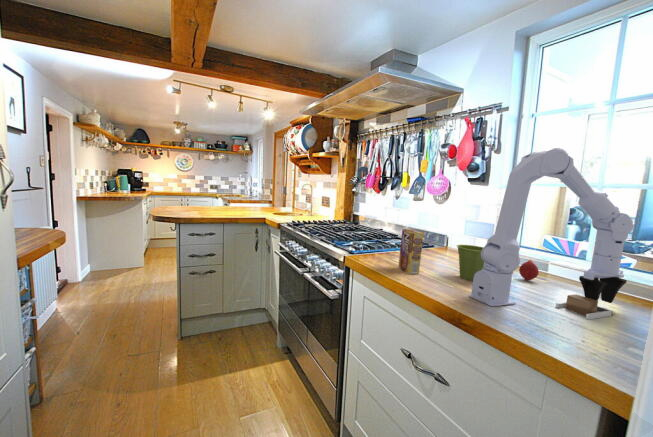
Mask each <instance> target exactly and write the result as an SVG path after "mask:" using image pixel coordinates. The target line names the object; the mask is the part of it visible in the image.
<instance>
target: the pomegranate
mask: <svg viewBox="0 0 653 437" xmlns="http://www.w3.org/2000/svg"><path fill="white" fill-rule="evenodd" d="M518 269H519V274H520V276H521V277H522V279H524V280H525V281H526V282H529V281H532V280H534V279H535V278H537V277H538V275H539V268H538V266H537V264H535V263H534V262H533V260H532V259H531V258H529V259H528V260H527V261H526V262H524V263H522V264H521V265H519V268H518Z"/></svg>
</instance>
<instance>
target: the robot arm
mask: <svg viewBox="0 0 653 437" xmlns="http://www.w3.org/2000/svg"><path fill="white" fill-rule="evenodd" d="M543 177H550V178H553V179H559V180H560V181H561V182H562V183H563V184H564V185H565V187H567V188H568V189H569V190H570V191H572V192H573V193H574V194H575V195H576V196H577V198H578V203H577V204H578V205H579V206H580V207H581V209H582V210H583V211H584V212H585V213H586V214H587V215H588V216H589V217H590V219H591V225H592V228H594V229H595V230H596V234H595V241H594V246H593V253H592V257H591V258H592V260H591V264H590V267H589V269H587V270H583V271H584V272H583V275H579V277H578V279H579V282H580V284H581V285H582V290H583V293H584V294H583V295H584V297H587V298H590V299H593V300H596V301H598V302H599V298H600V299H601V301H603V302H606V303H609V304H612V303H613V301H614V300H615V298H616V296H617V294H618V292H619V291H620V289H621V288H622V287H623V286H624V285H626V284H627V279H625V274H624V270H621V269H620V268H621V267H620V266H621V264H622V263H621V262H622V261H621V260H622V257H623V252H624V245H625V241H626V240H627V239H628V237H629V234H631V233H632V231H634V228H635V226H636V225H635V224H634V221H633V219H632V217H630V215H628V214H627V213H625V212H623V213H622V212H621V211H620V208H619V207H618V206H616V205H615V204H614V203H613V202H612V201H611V200H610V199H609V198H608V197H609V195H608V194H607V193H606V192H602V191H601V190H594V189H593V188H592V187H591V186H590V184H589V183H588V182H587V180H586V179H585V178H584V176H583V175H582V173H581V172H580V171H579V170H578V168H577V167H575V162H574V159H573V157H571V156H570V155H569V153H568V152H567V151H566V150H564V149H563V148H560V147H555V148H551V149H547V150H542V151H534V152H530V153H528V154H526V155H523V156H522V157H521V160H520V162H518V164H516V166H515V167H514V168H513V169H512V170H511V171H510V173H509V176H508V180H507V184H506V188H505V192H504V195H503V198H502V204H501V207H500V211H499V215H498V220H497V224H496V226H495V231H494V234H493V235H492V236H490V237H489V238H488V239H487V240H486V243H485V245H484V248H483V249H482V251H481V258H482V260H483V261H484V266H483V269H482V270H481V271H478V272H476V273H475V275H474V278H473V281H472V286H471V293H469V294H468V297H470V298H472V299H475V300H477V301H480V302H481V303H483V304H486V305H488V306H490V307H499V306H507V305H515V304H517V303H516V302H517V301H514V300H513V299H510V294H511V293H510V292H511V287H512V278H513V274H514V271H515V270H517V269H519V267H520V263H521V259H520V249H521V247H520V244H519V242H518V235H519V231H520V228H521V223H522V220H523V216H524V212H525V209H526V204H527V202H528V197H529V194H530V189H531V186H532V183H533V182H535V181H538V180H539V179H542V178H543Z"/></svg>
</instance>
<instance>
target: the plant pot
mask: <svg viewBox="0 0 653 437" xmlns="http://www.w3.org/2000/svg"><path fill="white" fill-rule="evenodd" d="M484 247H485V246H484ZM484 247H483V246H478V245H473V244H472V245H471V244H456V248H457V253H458V261H459V262H458V264H459V265H458V266H459V277H460V278H461V279H464V280H466V281H471V282H473V278H474V275H475V273H476V272H478V271H481V270H482V269H483V266H484V261H483V260H482V258H481V251H482V249H483V248H484Z"/></svg>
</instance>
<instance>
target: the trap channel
mask: <svg viewBox="0 0 653 437" xmlns="http://www.w3.org/2000/svg"><path fill="white" fill-rule="evenodd" d="M566 302H567V301H563V302H556V303H555V307H554V308H556V309H563V308H566ZM613 313H614V311H613V310H610V309H608V308H604V307H601V306H598V305H597V311H596V313H590V314H586V316H585V319H586V320H594V319H599V318H606V317H612V316H613Z"/></svg>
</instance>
